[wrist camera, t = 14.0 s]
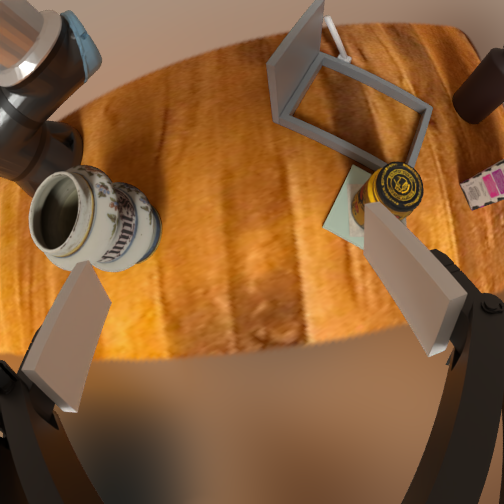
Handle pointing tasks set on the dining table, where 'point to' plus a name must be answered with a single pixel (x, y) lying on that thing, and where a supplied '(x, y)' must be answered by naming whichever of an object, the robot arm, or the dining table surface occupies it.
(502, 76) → the bottle
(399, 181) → the condiment
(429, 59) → the dining table surface
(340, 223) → the pad
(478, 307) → the robot arm
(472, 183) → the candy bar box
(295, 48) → the grey holder frame
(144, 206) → the apothecary jar
